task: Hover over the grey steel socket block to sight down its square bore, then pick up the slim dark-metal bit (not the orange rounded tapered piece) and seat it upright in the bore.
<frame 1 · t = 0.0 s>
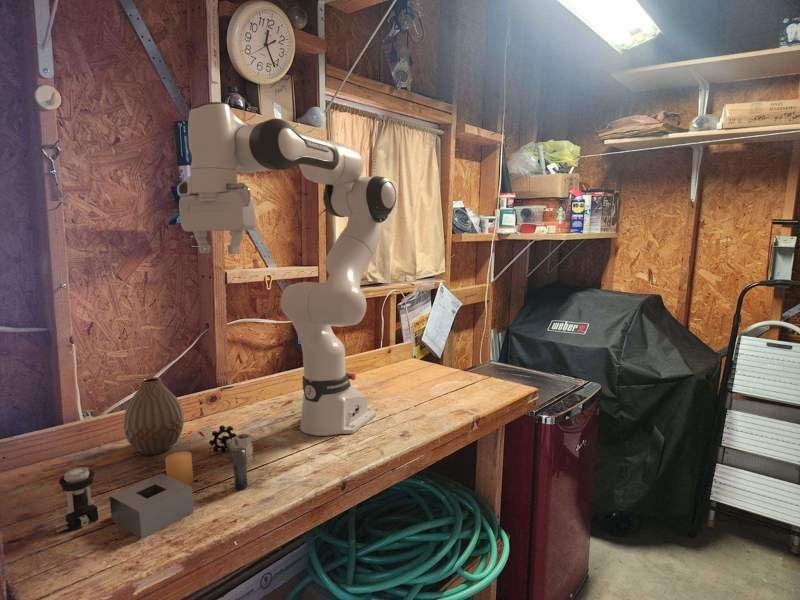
hand: (219, 253, 103), 48 cm above the table, tool pointing down, fingers open, 8 cm apart
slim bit: (241, 486, 103), on the table
vase: (156, 449, 122), on the table
bore block: (153, 516, 92), on the table
push button: (78, 526, 90), on the table
valve: (235, 459, 116), on the table
orange rounded tapered piece: (180, 483, 105), on the table
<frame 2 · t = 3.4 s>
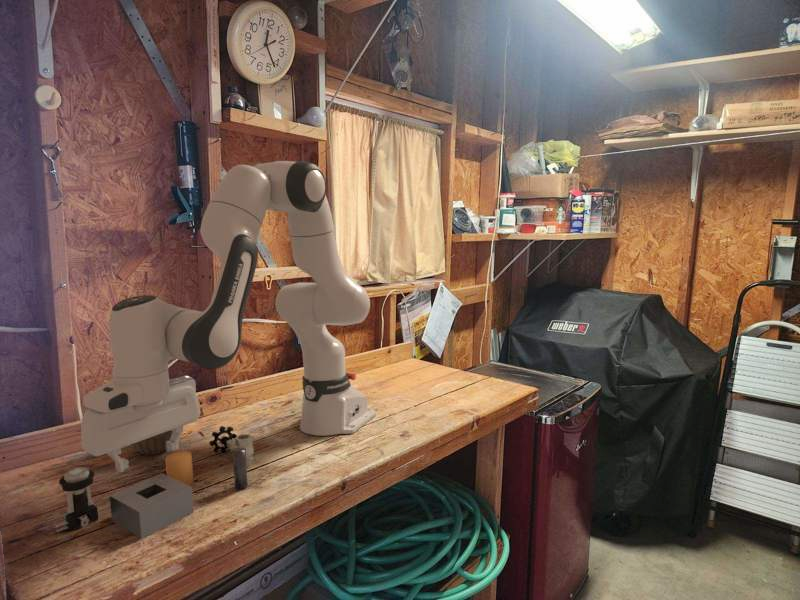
hand: (148, 459, 91), 11 cm above the table, tool pointing down, fingers open, 8 cm apart
nothing on the table moved.
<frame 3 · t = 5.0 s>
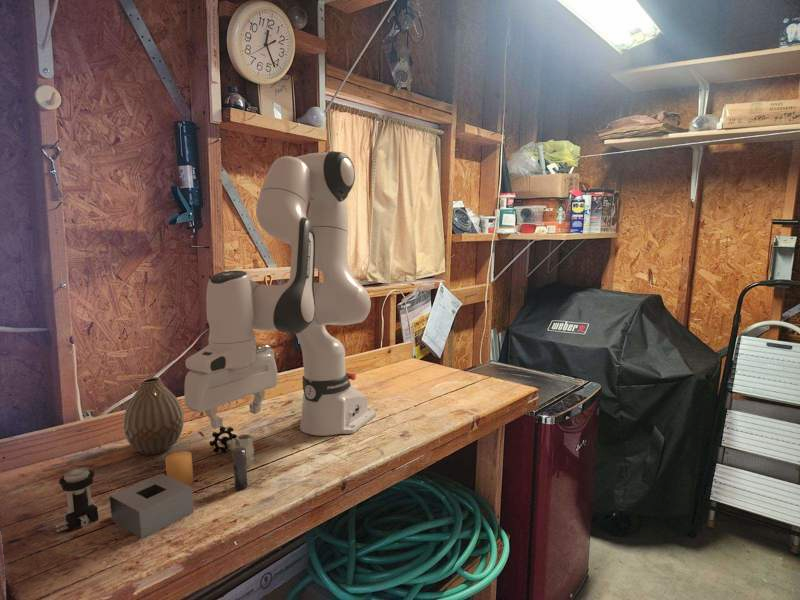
hand: (236, 419, 101), 15 cm above the table, tool pointing down, fingers open, 8 cm apart
nothing on the table moved.
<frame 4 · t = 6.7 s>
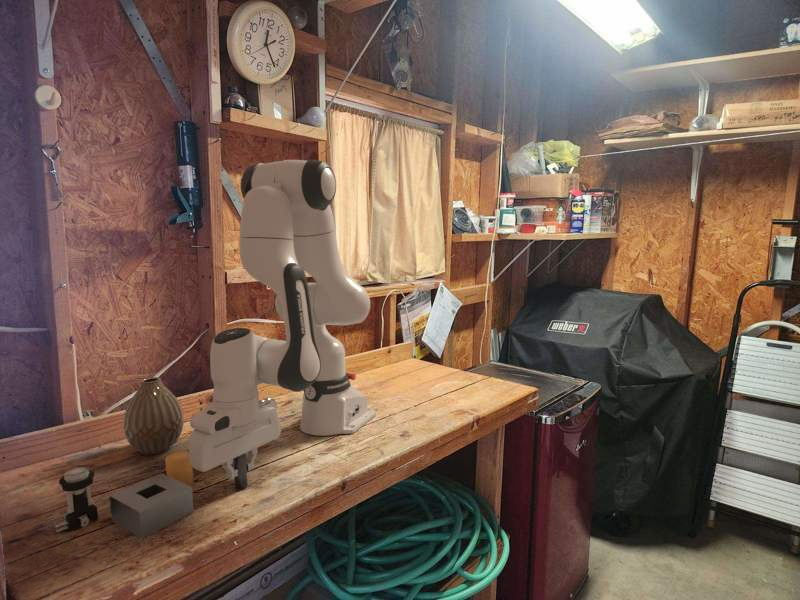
hand: (240, 473, 102), 3 cm above the table, tool pointing down, fingers closed on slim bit, 3 cm apart
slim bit: (241, 486, 103), on the table, touching gripper
everything else where it was.
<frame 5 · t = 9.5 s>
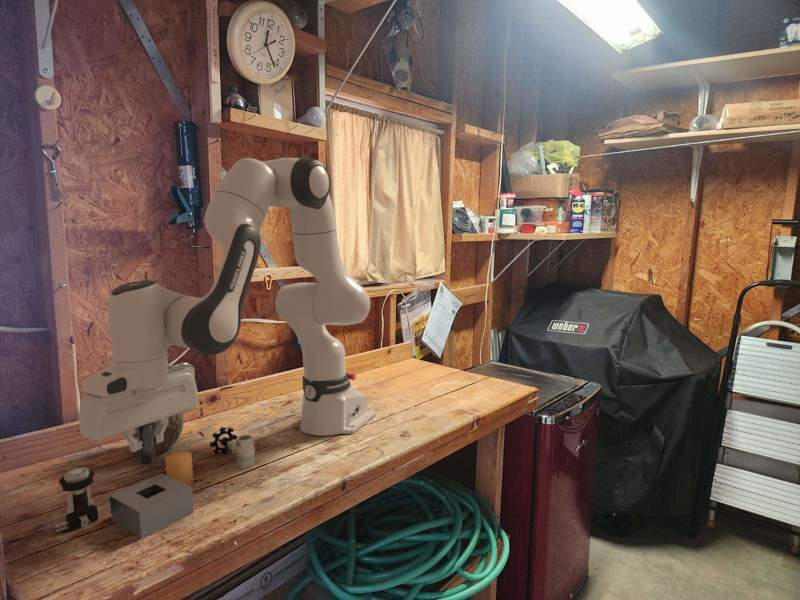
hand: (147, 446, 90), 14 cm above the table, tool pointing down, fingers closed on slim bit, 3 cm apart
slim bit: (148, 461, 91), point 11 cm above the table, touching gripper
when the fingers open (6 cm above the table, at t = 12.2 s): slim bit drops 3 cm, resting in bore block.
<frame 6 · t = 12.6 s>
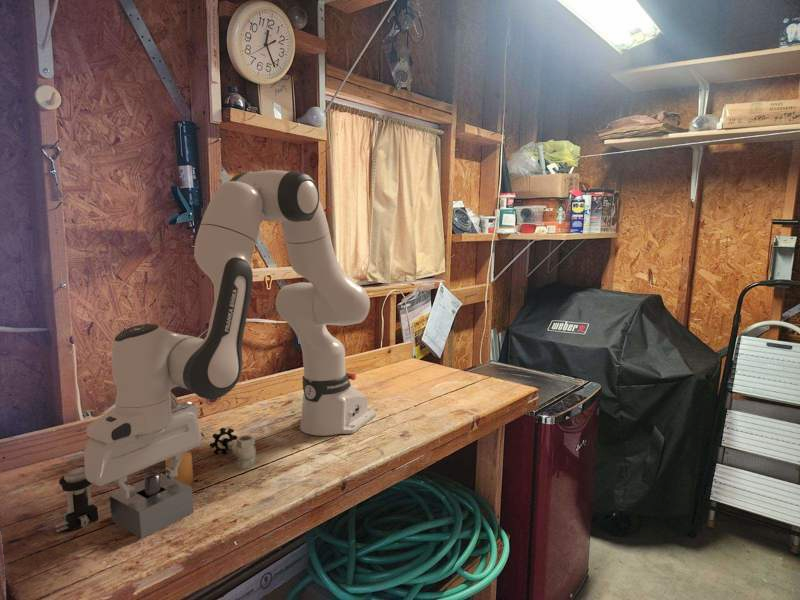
hand: (151, 486, 92), 6 cm above the table, tool pointing down, fingers open, 7 cm apart
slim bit: (153, 516, 92), resting in bore block
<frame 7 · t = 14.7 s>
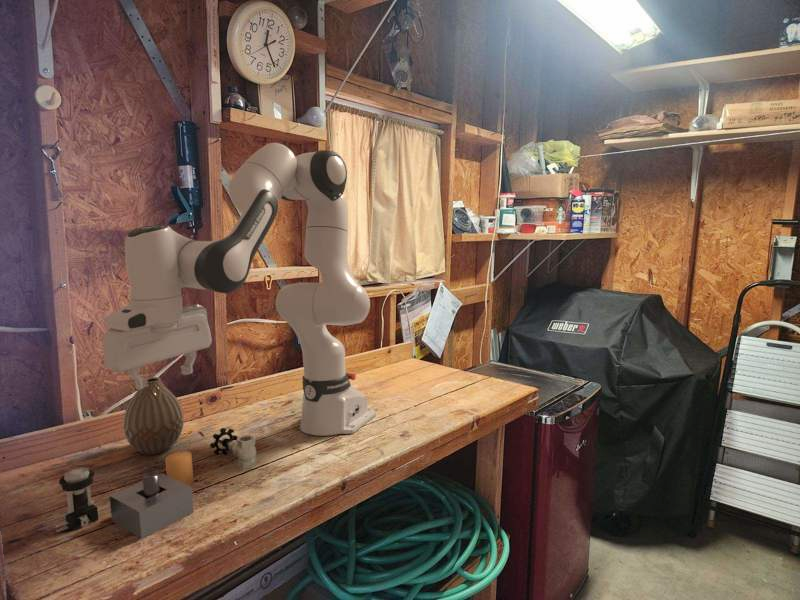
hand: (165, 380, 97), 24 cm above the table, tool pointing down, fingers open, 8 cm apart
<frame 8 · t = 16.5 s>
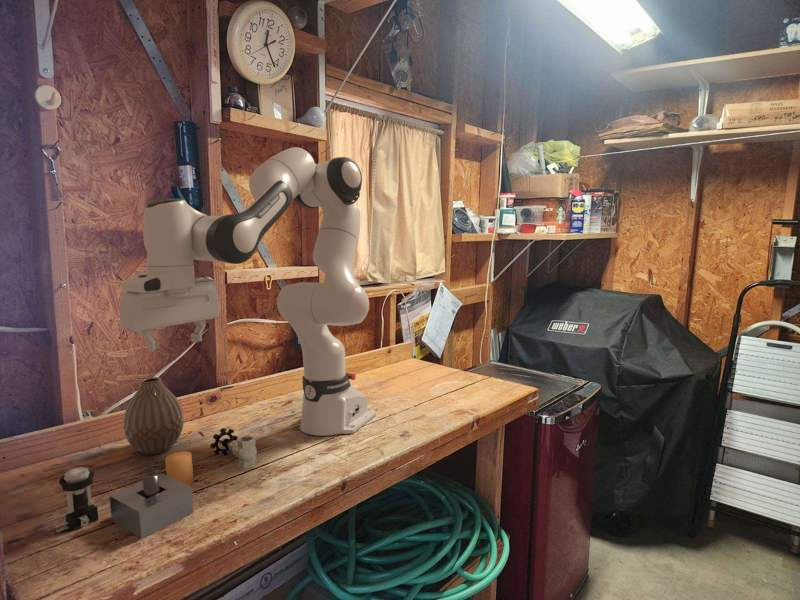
hand: (176, 346, 103), 29 cm above the table, tool pointing down, fingers open, 8 cm apart
at the end: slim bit 0.1 cm off-centre in the bore block, point 0.0 cm above the bore block's base; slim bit tilted 0°; the gripper is holding nothing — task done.
